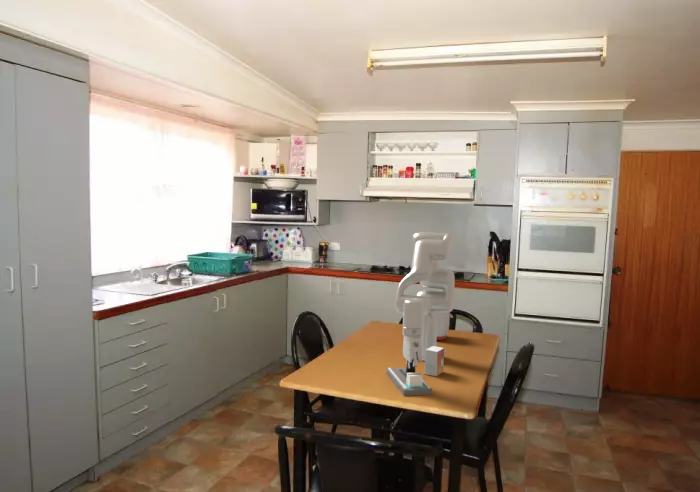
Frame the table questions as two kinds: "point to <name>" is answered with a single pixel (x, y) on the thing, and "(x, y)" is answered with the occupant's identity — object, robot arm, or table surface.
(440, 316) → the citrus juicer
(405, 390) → the fader board
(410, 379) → the fader knob
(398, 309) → the robot arm
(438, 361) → the small box
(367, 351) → the table surface
